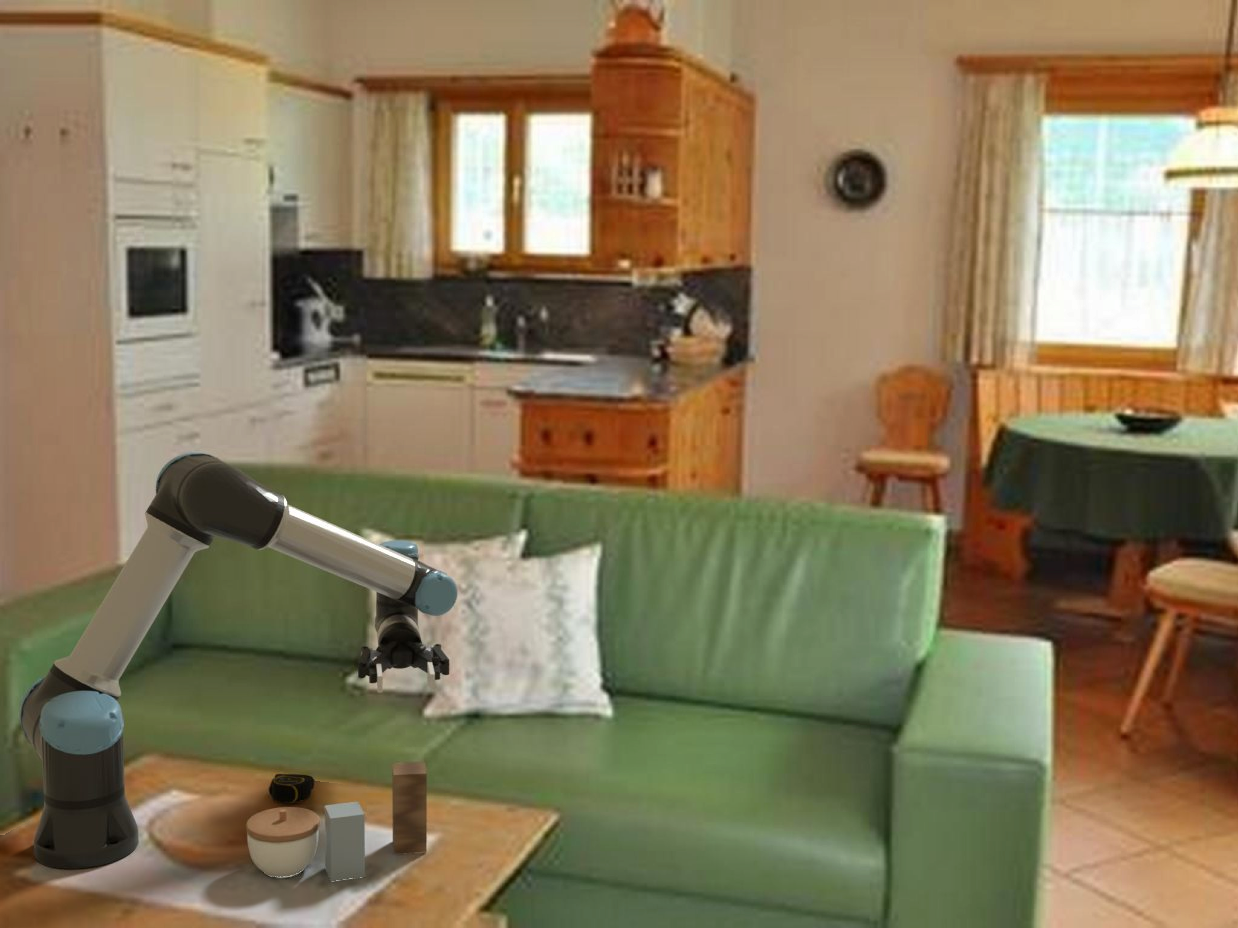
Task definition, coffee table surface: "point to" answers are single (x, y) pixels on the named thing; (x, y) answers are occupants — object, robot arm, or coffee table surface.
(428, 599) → the robot arm
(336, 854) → the slate block
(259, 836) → the lidded jar
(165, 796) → the coffee table surface
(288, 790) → the tape measure
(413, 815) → the walnut block
